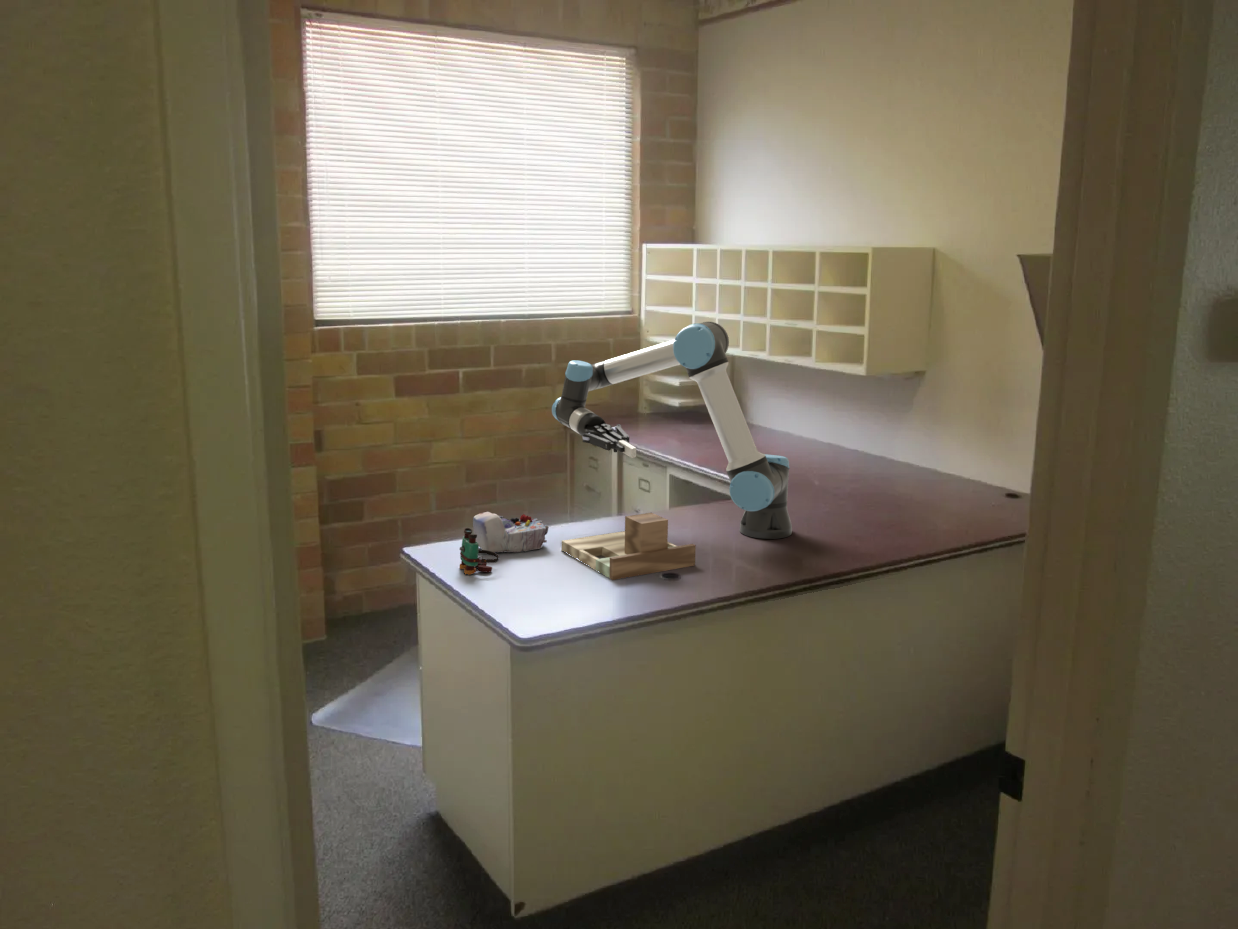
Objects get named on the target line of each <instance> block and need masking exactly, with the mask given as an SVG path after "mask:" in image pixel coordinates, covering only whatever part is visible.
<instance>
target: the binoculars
mask: <svg viewBox="0 0 1238 929" xmlns="http://www.w3.org/2000/svg"><path fill="white" fill-rule="evenodd" d="M463 533H464V535H463V536H462V539H461V540H462V541H461V546H460V547H459V551H460V553H459V554H460V555H459V556H460V560H461V561H460V563H459V569H460V570H464V573H465V574H464V575H466V574H468V576H470V575H473V574H475V573H476V572H481V573H492V570H493V566H490V565H488V564H494V563H498V561H499V560H500V555H499V554H497V553H494V552H491V551H487V550H482V549H479V548H480V547H479V543H477V542H476V538H477V534H474V533H473V529H472V528H469V527H465V528H464V529H463ZM479 554H482V555H481V556H479ZM483 555H489V556H492V557H494V558H484V556H483Z"/></svg>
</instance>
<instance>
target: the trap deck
mask: <svg viewBox="0 0 1238 929" xmlns="http://www.w3.org/2000/svg"><path fill="white" fill-rule="evenodd" d="M562 551H564V552H567V553H568V554H570V555H571V556H573V557H574V558H578V559H579V560H580V561H582V562H583V563H585V564H587V565H589V566H590V567H591V568H590V567H589V568H590V569H592V568H593V569H592V570H594V569H595V570H597V571H599V572H600V573H599V572H598V573H599V574H601V573H602V574H603V575H602V574H601V575H602V576H604V575H605V576H604V577H607V578H608V577H609V578H608V579H609V580H611V581H615V580H621V578H622V579H627V578H626V577H628V578H632V577H633V578H634V577H638V576H643V575H649V574H650V575H651V574H655V573H659V572H660V573H661V572H666V571H671V570H676V569H682V568H683V569H684V568H688V567H694V566H696V544H694V543H688V544H682V545H676V544H674V543H672V542H669V541H668V543H667V548H664V549H658V550H652V551H646V552H640V553H634V554H628V555H627V554H625V530H624V531H617V532H615V531H614V532H611V533H610V532H609V533H604V534H598V535H597V534H596V535H590V536H583V537H577V538H571V539H563V540H561V552H562ZM564 552H563V553H564ZM571 556H570V557H571ZM573 557H572V558H573ZM574 558H573V559H574ZM580 561H579V562H580ZM583 563H582V564H583ZM585 564H584V565H585ZM587 565H586V566H587ZM595 570H594V571H595ZM597 571H596V572H597Z"/></svg>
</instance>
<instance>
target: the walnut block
mask: <svg viewBox="0 0 1238 929" xmlns="http://www.w3.org/2000/svg"><path fill="white" fill-rule="evenodd" d="M668 526H669V519H667V518H665V517H663V516H660V515H657V514H655V513H652V512H646V513H640V514H632V515H624V531H625V554H627V555H628V554H634V553H640V552H646V551H652V550H658V549H664V548H667V543H668V542H669V541H668V539H669V538H668V537H669V536H668V534H669V532H668V531H669V527H668Z"/></svg>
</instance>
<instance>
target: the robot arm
mask: <svg viewBox="0 0 1238 929" xmlns="http://www.w3.org/2000/svg"><path fill="white" fill-rule="evenodd" d="M729 346H730V338H729V334H728V332H727V330H726V328H724V326H722V325H721V324H719V323H717V322H713V321H703V322H699V323H692V324H688V325H687V326H686V327H685V326H684V327H683V328H682V329H681V330H680V331H678V333H677V334H676V336H675V338H674V339H670V340H668V341H664V342H661V343H657V344H654V345H651V346H648V347H645V348H641V349H639V350H635V351H631V352H629V353H626V354H622V355H618V356H615V357H612V358H609V359H606V360H603V361H599V362H596V363H592V364H591V363H589V362H587V361H583V360H570V361H569V362H568V364H567V367H566V370H565V373H564V374H565V377H564V381H563V385H562V386H563V387H562V392H561V396H560V397H558V398H557V399H555V401H554V402H553V404H552V406H551V414H552V416H553V417H554V419H555V420H557V421H558V422H559V423H560V424H562V425H563V426H566V427H567V428H569V429H570V430H572V431H573V432H575V433H577V434H579V435H580V437H582V443H585V444H586V443H587V444H590V445H593V446H596V447H598V448H599V449H602V450H606V451H611V450H612V449H613V453H618V452H620V453H622V454H624V455H626V456H628V458H630V459H634V458H637V447H635V446H634V445H633V444H632V443H630V436H629V434H628V433H627V432H626V431H625V430H624V429H623V428H622V425H621V424H616V425H615V426H612V425H611V424H608V423H606V421H605V419H603V417H601V416H600V415H598V414H596V413H595V412H593V411H592V410H590V409H588V408H586V403H587V399H588V394H589V392H592V391H595V390H599V389H602V388H606V387H608V386H612V385H614V384H615V385H616V384H619V383H622V382H624V381H625V382H626V381H629V380H632V379H635V378H639V377H642V376H645V375H649V374H653V373H656V372H660V371H662V370H663V371H664V370H665V369H669V368H672V367H676V366H680V365H681V366H682V367H684V368H685V371H686V374H687V375H688V378H689V380H691V381H693V382H696V383H697V386H698V389H699V390H700V394H701V396H702V399H703V401H704V403H705V406H706V409H707V411H708V414H709V417H710V419H711V421H712V423H713V426H714V429H715V431H716V434H717V436H718V439H719V442H720V444H721V446H722V449H723V451H724V454H725V456H726V459H727V462H728V464H727V467H726V468H725V471H726V474H727V477H728V479H729V482H730V483H729V495H730V496H729V497H730V498H731V500H732V502H733V503H734V505H736V507H738V508H739V509H741V510H744V512H743V515H742V516H741V520H740V522H739V532H740V533H741V534H742V535H744V536H747V537H751V538H756V539H763V540H764V539H765V540H777V539H785V538H787V537H790V536H791V535H792V533H793V526H792V520H791V518H790V514H789V510H788V497H789V496H788V493H789V492H788V491H789V476H790V475H789V472H790V461H789V460H790V459H789V458H788V457H786V456H783V455H778V454H777V455H776V454H775V455H774V454H765V453H762V452H761V451H759V450H758V448H757V446H756V443H755V440H754V438H753V436H752V433H751V430H750V428H749V426H748V423H747V420H746V418H745V416H744V413H743V411H742V408H741V405H740V402H739V401H738V398H737V395H736V393H735V391H734V387H733V385H732V382H731V380H730V377H729V375H728V372H727V368H728V366H729V359H728V358H727V352H728V349H729Z"/></svg>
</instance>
